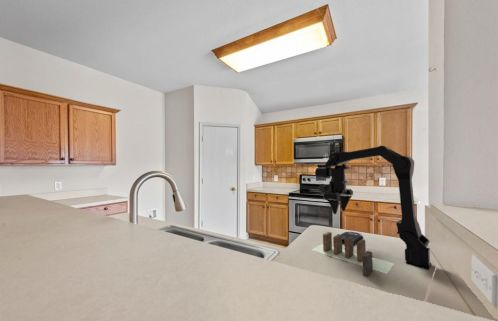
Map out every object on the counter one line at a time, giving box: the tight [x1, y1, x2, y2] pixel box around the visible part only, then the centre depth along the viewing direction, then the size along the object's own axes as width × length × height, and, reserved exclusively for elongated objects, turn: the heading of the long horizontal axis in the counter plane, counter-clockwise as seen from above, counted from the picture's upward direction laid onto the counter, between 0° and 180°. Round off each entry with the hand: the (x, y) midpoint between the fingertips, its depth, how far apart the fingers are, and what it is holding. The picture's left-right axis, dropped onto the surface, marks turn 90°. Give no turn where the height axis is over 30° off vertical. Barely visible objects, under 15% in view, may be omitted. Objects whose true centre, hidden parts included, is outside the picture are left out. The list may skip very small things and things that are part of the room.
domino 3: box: [343, 237, 355, 259], centre depth 83 cm, size 1×5×7 cm, turn 133°
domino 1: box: [322, 231, 333, 252], centre depth 89 cm, size 1×5×7 cm, turn 133°
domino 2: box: [332, 233, 343, 255], centre depth 86 cm, size 1×5×7 cm, turn 133°
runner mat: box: [311, 243, 395, 275], centre depth 82 cm, size 28×10×1 cm, turn 43°
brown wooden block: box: [356, 238, 367, 262], centre depth 79 cm, size 1×5×7 cm, turn 133°
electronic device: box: [341, 231, 364, 246], centre depth 101 cm, size 9×6×15 cm
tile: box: [362, 250, 374, 278], centre depth 69 cm, size 1×5×7 cm, turn 133°
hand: (339, 212), depth 96 cm, fingers open, 9 cm apart
